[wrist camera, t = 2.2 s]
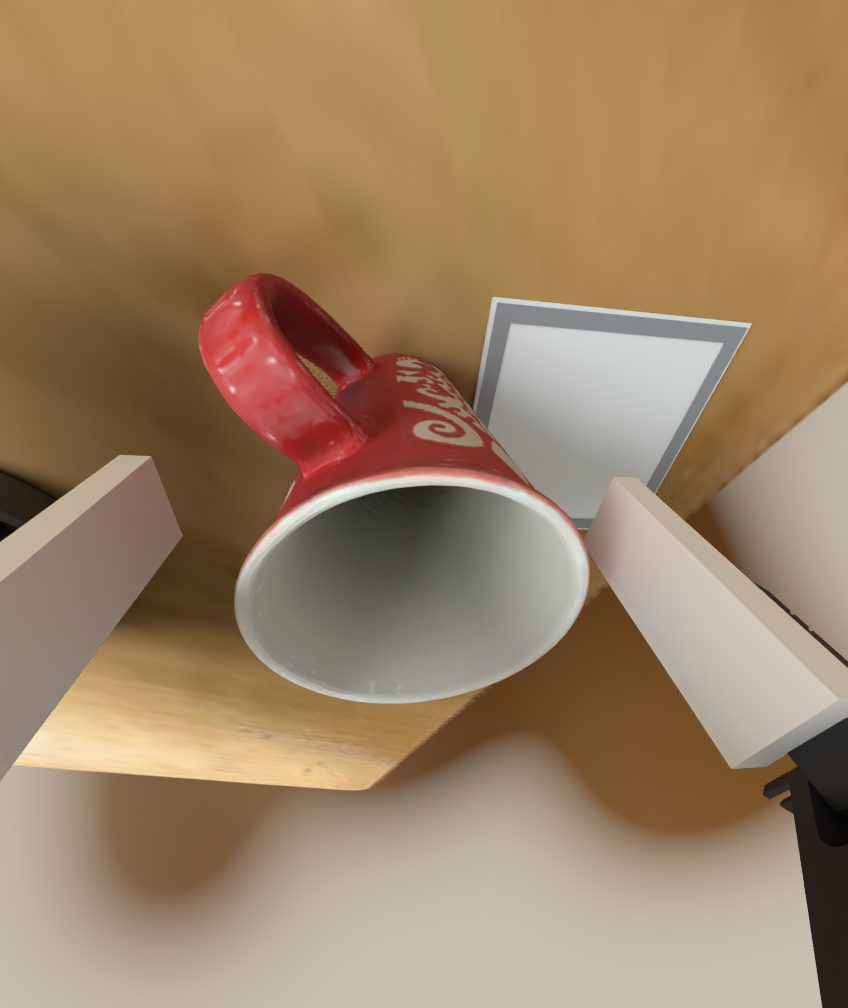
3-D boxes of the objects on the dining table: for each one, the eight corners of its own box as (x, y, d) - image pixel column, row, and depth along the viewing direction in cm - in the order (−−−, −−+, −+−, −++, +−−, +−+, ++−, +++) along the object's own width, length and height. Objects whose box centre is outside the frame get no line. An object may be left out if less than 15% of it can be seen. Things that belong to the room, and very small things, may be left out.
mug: (499, 450, 22) (616, 650, 11) (371, 508, 23) (360, 733, 12) (404, 210, 15) (464, 72, 4) (231, 318, 16) (-83, 448, 5)
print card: (451, 524, 25) (452, 528, 24) (492, 296, 17) (494, 297, 16) (632, 527, 27) (635, 530, 26) (747, 322, 19) (753, 323, 18)
